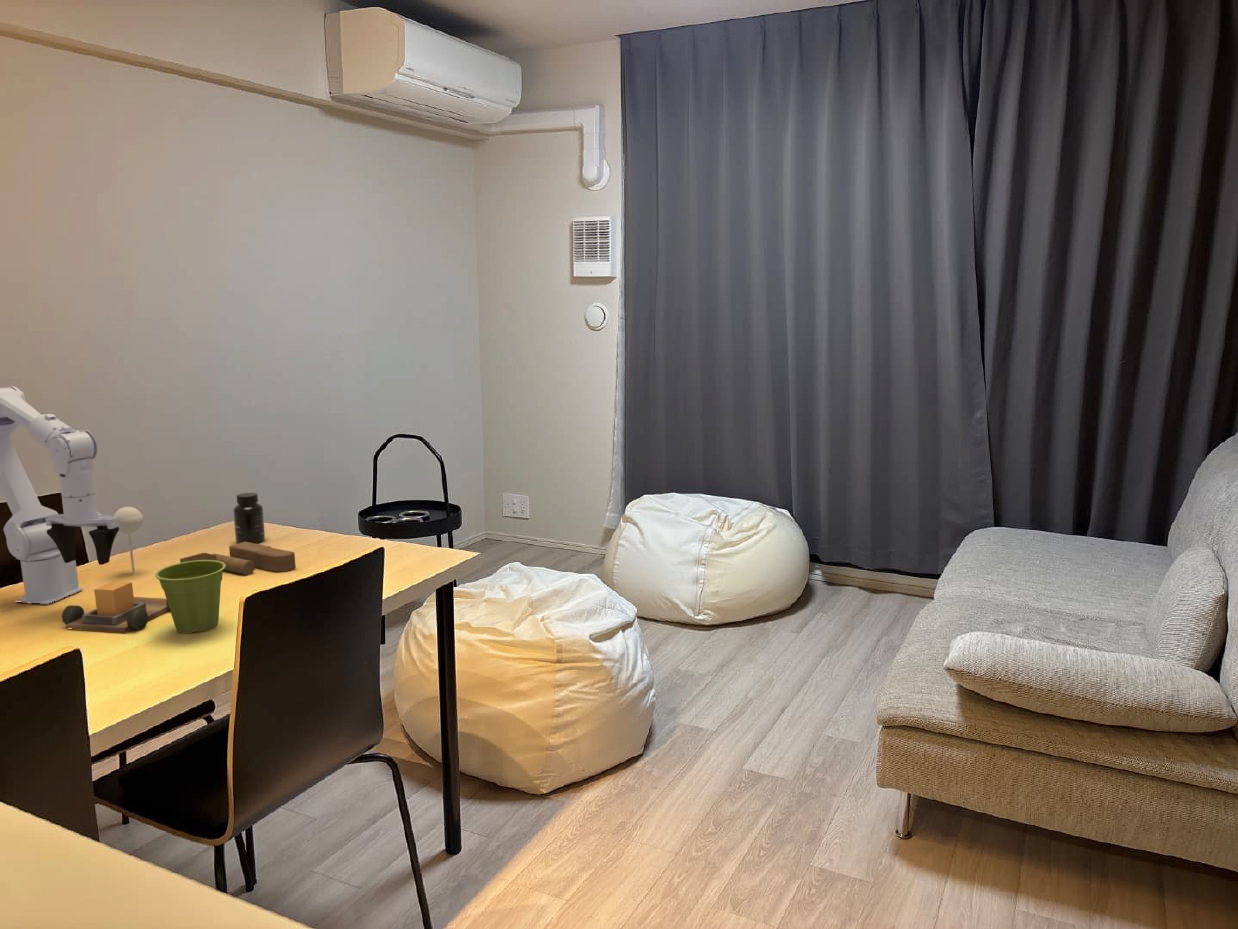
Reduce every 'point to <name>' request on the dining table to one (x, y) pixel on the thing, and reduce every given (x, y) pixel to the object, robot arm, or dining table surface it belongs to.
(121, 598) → the tan wooden cube
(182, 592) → the plant pot
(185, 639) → the dining table surface
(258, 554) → the wooden block set
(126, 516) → the lollipop
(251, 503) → the supplement bottle
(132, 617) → the chassis board
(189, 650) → the dining table surface
